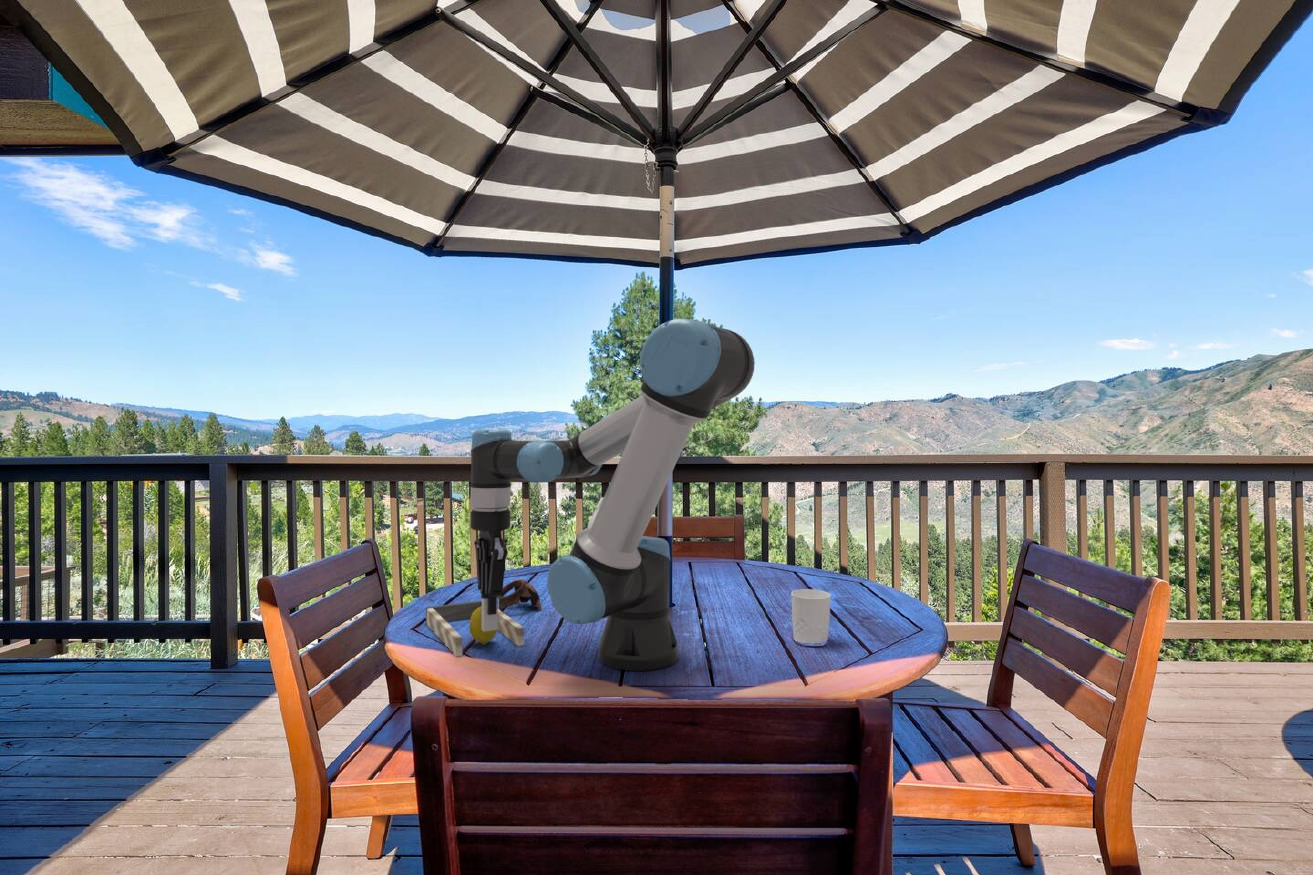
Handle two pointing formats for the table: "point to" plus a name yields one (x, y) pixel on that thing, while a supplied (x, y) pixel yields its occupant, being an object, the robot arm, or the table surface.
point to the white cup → (810, 615)
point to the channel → (461, 611)
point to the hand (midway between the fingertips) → (489, 629)
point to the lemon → (476, 628)
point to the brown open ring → (519, 595)
